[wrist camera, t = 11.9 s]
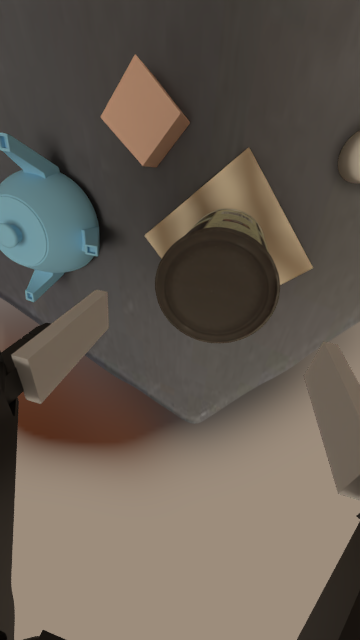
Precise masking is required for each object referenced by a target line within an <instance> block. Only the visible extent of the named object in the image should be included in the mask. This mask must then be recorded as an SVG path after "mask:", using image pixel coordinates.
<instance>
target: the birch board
mask: <svg viewBox="0 0 360 640" xmlns="http://www.w3.org/2000/svg"><path fill="white" fill-rule="evenodd" d="M218 209H236V210H240V211H243V212H245V213H247V214H248V215H250V216H251V217H253V218H254V219H255V220H256V222H257V223H258V224H259V226H260V227H261V229H262V231H263V234H264V238H265V242H266V245H267V248H268V251H269V254H270V255H271V257H272V259H273V261H274V263H275V265H276V268H277V271H278V274H279V279H280V285H281V284H283V283H285V282H287V281H289V280H291V279H293V278H295V277H297V276H299V275H301V274H302V273H304V272H306V271H308V270H310V269H312V268H313V267H312V265H311V263H310V261H309V259H308V258H307V256H306V254H305V252H304V250H303V248H302V246H301V244H300V242H299V241H298V239H297V237H296V235H295V233H294V231H293V229H292V227H291V225H290V224H289V222H288V220H287V218H286V216H285V214H284V212H283V210H282V208H281V207H280V205H279V203H278V201H277V199H276V197H275V195H274V193H273V191H272V190H271V188H270V186H269V184H268V182H267V180H266V178H265V176H264V174H263V173H262V171H261V169H260V167H259V165H258V163H257V161H256V159H255V157H254V156H253V154H252V152H251V150H250V148H247V149H246V150H245V151H244V152H243V153H241V154H240V155H239V156H238V157H237V158H236V159H234V160H233V161H232V162H231V163H230V164H228V165H227V166H226V167H225V168H224V169H223V170H221V171H220V172H219V173H218V174H217V175H215V176H214V177H213V178H212V179H211V180H210V181H208V182H207V183H206V184H205V185H204V186H202V187H201V188H200V189H199V190H198V191H197V192H195V193H194V194H193V195H192V196H191V197H189V198H188V199H187V200H186V201H185V202H184V203H182V204H181V205H180V206H179V207H178V208H176V209H175V210H174V211H173V212H172V213H171V214H169V215H168V216H167V217H166V218H165V219H164V220H162V221H161V222H160V223H159V224H158V225H156V226H155V227H154V228H153V229H152V230H151V231H149V232H148V233H147V234H146V235H145V237H146V238H147V240H148V241H149V242H150V244H151V245H152V247H153V248H154V249H155V251H156V252H157V253H158V255H159V256H160V257H161V259H162V258H163V256H164V254H165V253H166V252H167V250H168V249H169V248H170V247H171V246H172V245H173V244H174V243H175V242H176V241H177V240H179V239H180V238H182V237H183V236H185V235H186V234H187V233H188V232H189V231H190V230H191V229H192V228H193V227H194V226H195V225H196V223H197V222H198V221H199V220H200V219H201V218H202V217H204V216H205V215H207V214H208V213H210V212H213V211H215V210H218Z"/></svg>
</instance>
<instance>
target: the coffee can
mask: <svg viewBox="0 0 360 640" xmlns="http://www.w3.org/2000/svg"><path fill="white" fill-rule="evenodd" d="M155 290H156V296H157V299H158V303H159V305H160V308H161V310H162V312H163V313H164V315H165V316H166V318H167V319H168V320H169V321H170V323H171V324H172V325H173V326H175V327H176V328H177V329H178V330H179V331H181V332H182V333H184V334H186V335H187V336H190V337H192V338H194V339H197V340H200V341H203V342H209V343H229V342H234V341H237V340H241V339H243V338H246V337H248V336H250V335H252V334H253V333H255V332H256V331H257V330H259V329H260V328H261V327H262V326H263V325H264V324H265V323H266V322H267V321H268V320H269V318H270V317H271V315H272V314H273V312H274V310H275V308H276V305H277V303H278V299H279V293H280V279H279V274H278V271H277V268H276V265H275V263H274V261H273V259H272V257H271V255H270V254H269V251H268V248H267V245H266V242H265V238H264V234H263V231H262V229H261V227H260V226H259V224H258V223H257V222H256V220H255V219H254V218H253V217H251V216H250V215H248V214H247V213H245V212H243V211H240V210H236V209H218V210H215V211H213V212H210V213H208V214H207V215H205V216H204V217H202V218H201V219H200V220H199V221H198V222H197V223H196V225H195V226H194V227H193V228H192V229H191V230H190V231H189V232H188V233H187V234H186V235H185V236H183V237H182V238H180V239H179V240H177V241H176V242H175V243H174V244H173V245H172V246H171V247H170V248H169V249H168V250H167V252H166V253H165V254H164V256H163V258H162V260H161V262H160V264H159V266H158V269H157V273H156V279H155Z"/></svg>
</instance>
